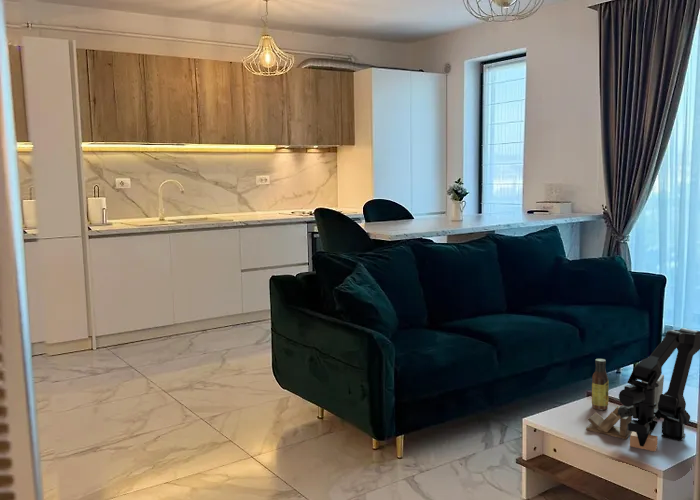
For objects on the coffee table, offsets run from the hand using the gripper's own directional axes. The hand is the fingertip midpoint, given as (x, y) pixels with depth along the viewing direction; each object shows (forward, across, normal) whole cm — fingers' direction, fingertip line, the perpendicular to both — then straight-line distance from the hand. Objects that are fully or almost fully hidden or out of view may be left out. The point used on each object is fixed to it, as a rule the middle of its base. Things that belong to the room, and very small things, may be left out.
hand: (643, 443), depth 220 cm
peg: (+1, 0, 0) cm, 1 cm away
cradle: (+1, -7, -14) cm, 15 cm away
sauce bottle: (+1, -28, -24) cm, 37 cm away
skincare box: (+1, -32, -6) cm, 33 cm away
